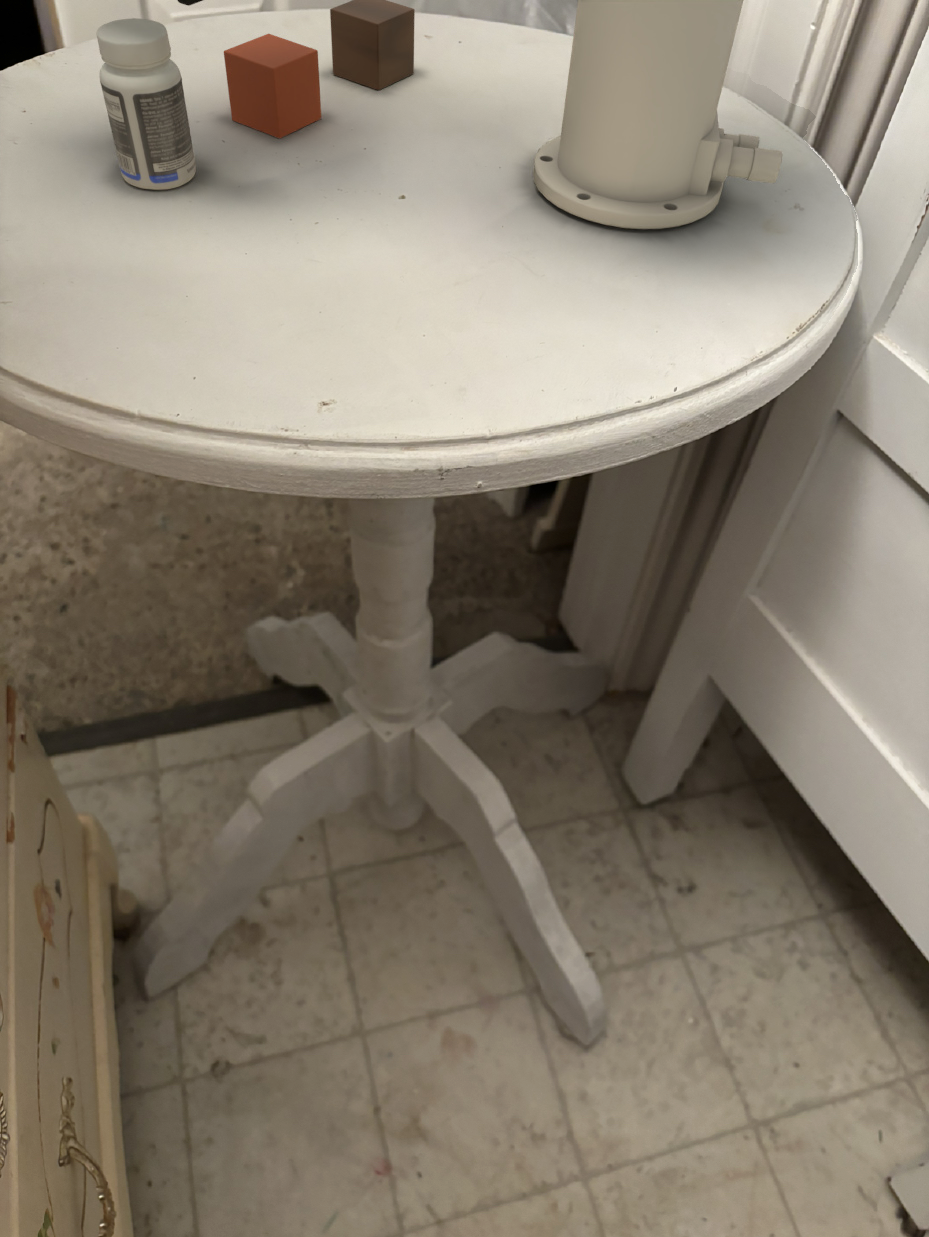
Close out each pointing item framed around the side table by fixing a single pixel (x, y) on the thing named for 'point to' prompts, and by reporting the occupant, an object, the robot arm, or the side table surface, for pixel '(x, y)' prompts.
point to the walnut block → (372, 42)
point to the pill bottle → (145, 104)
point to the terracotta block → (273, 85)
